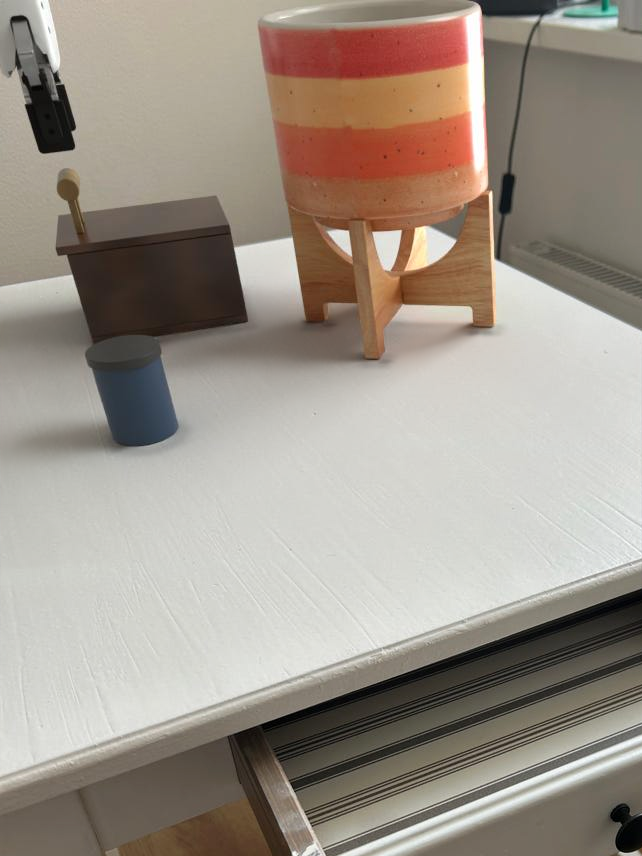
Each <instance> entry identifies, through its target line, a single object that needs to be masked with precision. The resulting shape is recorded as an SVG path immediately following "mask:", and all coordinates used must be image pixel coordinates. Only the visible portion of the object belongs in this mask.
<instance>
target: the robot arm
mask: <svg viewBox="0 0 642 856" xmlns="http://www.w3.org/2000/svg"><path fill="white" fill-rule="evenodd" d="M60 66H61V55H60V49H59V43H58V38H57V33H56V27H55V23H54V19H53V14H52V11H51V6H50V2H49V0H0V72H1V74H2V76H4V77H5V78H7V79H12V78H13V76H14V74H15V72H16V71H17V73H18V74H17V75H18V79H19V82H20V86H21V90H22V95H23V98H24V101H25V104H24V107H25V111H26V114H27V118H28V121H29V123H30V127H31V131H32V134H33V137H34V141H35V143H36V147H37V149H38V152H39V153H40V154H43V155H48V154H54V153H62V152H71V151H75V149H76V143H75V139H74V135H73V132H75V131H76V129H77V124H76V120H75V117H74V114H73V110H72V107H71V103H70V101H69V96H68V93H67V89H66V86H65V83H62V79H61V75H60V72H59V69H60Z"/></svg>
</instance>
